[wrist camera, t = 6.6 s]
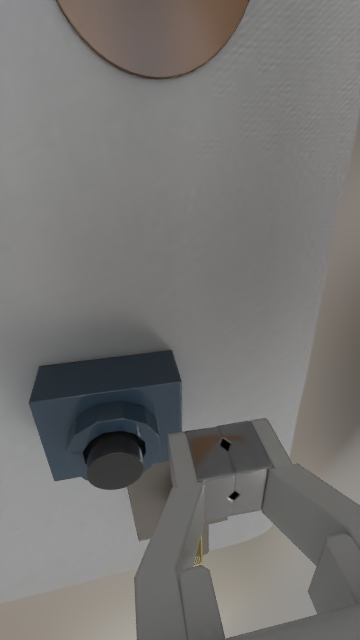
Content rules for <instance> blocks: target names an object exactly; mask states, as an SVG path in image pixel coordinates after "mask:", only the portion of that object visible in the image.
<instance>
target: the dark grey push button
mask: <svg viewBox="0 0 360 640" xmlns="http://www.w3.org/2000/svg"><path fill="white" fill-rule="evenodd" d="M143 470H144V464H143V455H142V446H141V441H140V440H139V438H138V437H137V436H136V435H135V434H133V433H129V432H125V431H114V432H108V433H103V434H101V435H99V436H98V437H96V438H94V439H93V440H92V441H91V443H90V445H89V447H88V456H87V472H86V475H87V479H88V481H89V482H90V483H91V484H92V485H94V486H95V487H98V488H101V489H106V490H114V489H120V488H124V487H127V486H129V485H131V484H133V483H134V482H136V481H137V480H138V479H139V478H140V477H141V475H142V473H143Z"/></svg>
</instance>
